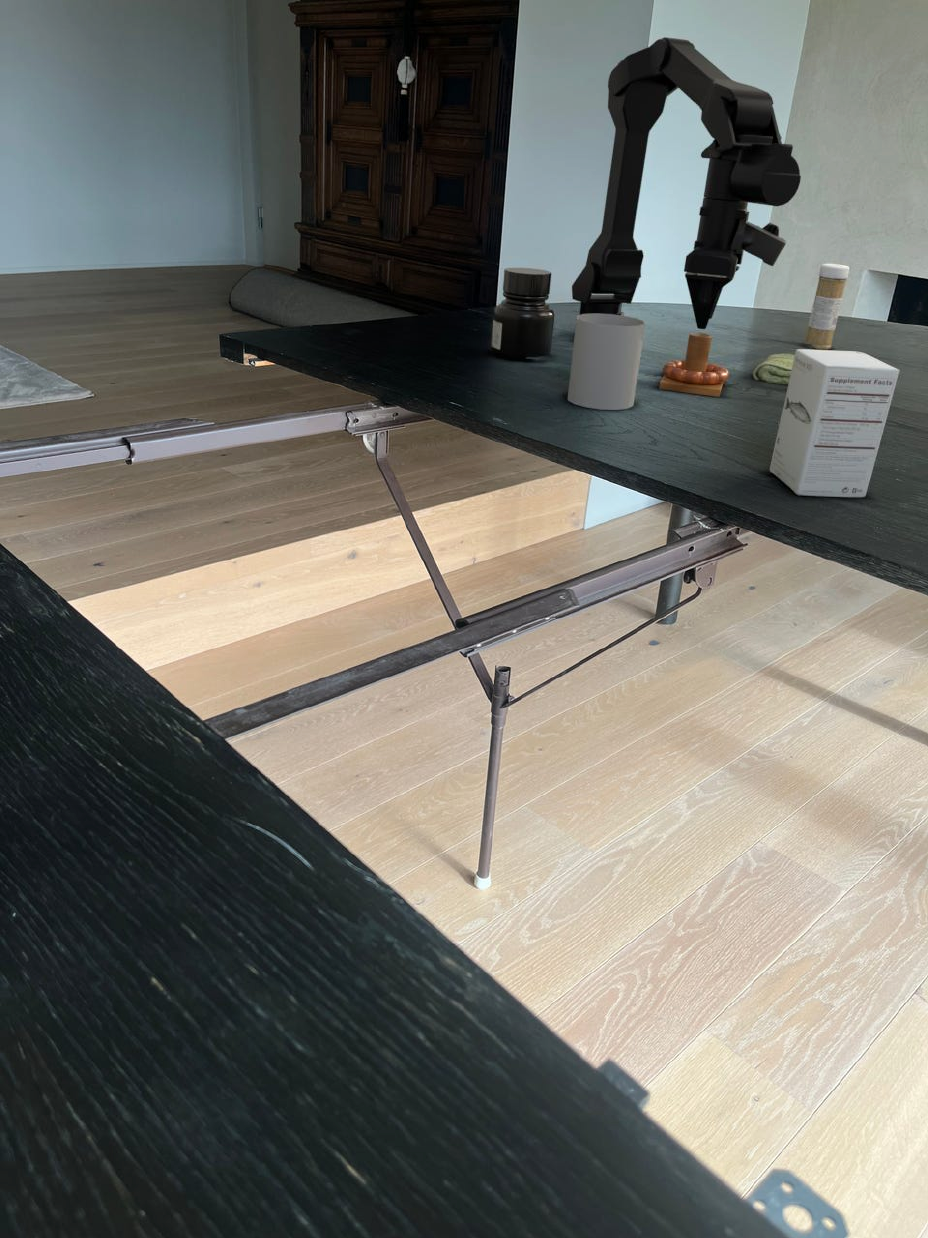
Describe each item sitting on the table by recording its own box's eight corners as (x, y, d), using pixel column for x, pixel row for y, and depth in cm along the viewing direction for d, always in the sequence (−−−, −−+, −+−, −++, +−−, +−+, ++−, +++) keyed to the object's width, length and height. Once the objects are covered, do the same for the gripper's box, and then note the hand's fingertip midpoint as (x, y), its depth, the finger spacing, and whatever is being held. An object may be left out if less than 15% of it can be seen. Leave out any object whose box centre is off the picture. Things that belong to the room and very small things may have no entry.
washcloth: (881, 406, 128) (887, 382, 127) (748, 385, 134) (753, 361, 133) (888, 387, 139) (894, 365, 137) (765, 368, 145) (769, 347, 144)
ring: (658, 380, 129) (660, 368, 129) (666, 367, 137) (668, 356, 136) (724, 388, 127) (727, 376, 126) (729, 375, 135) (731, 364, 134)
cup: (638, 398, 123) (650, 318, 119) (627, 413, 116) (639, 329, 112) (575, 389, 126) (584, 310, 121) (560, 403, 119) (569, 320, 114)
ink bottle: (506, 346, 148) (513, 264, 143) (559, 354, 145) (568, 271, 140) (480, 356, 141) (485, 270, 135) (535, 365, 137) (543, 277, 132)
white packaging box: (766, 471, 99) (793, 347, 93) (835, 474, 99) (866, 350, 94) (794, 496, 92) (825, 364, 86) (867, 498, 93) (903, 367, 87)
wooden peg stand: (659, 389, 129) (667, 335, 126) (666, 377, 136) (674, 326, 133) (719, 397, 127) (729, 343, 124) (723, 384, 134) (733, 333, 131)
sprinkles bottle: (812, 343, 167) (830, 262, 161) (836, 349, 164) (855, 266, 158) (797, 346, 164) (815, 263, 158) (821, 351, 161) (840, 267, 155)
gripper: (788, 208, 114) (762, 342, 121) (791, 201, 130) (767, 320, 137) (694, 200, 117) (673, 331, 124) (707, 194, 133) (688, 311, 140)
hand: (704, 323), depth 131 cm, fingers open, 9 cm apart
